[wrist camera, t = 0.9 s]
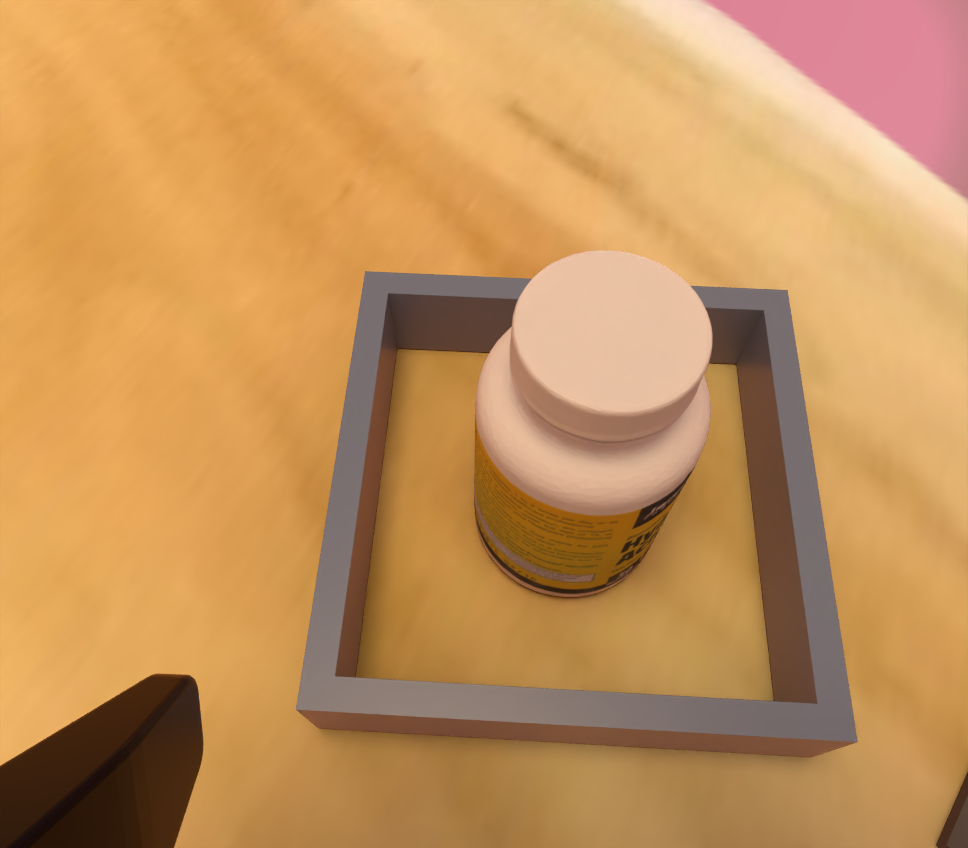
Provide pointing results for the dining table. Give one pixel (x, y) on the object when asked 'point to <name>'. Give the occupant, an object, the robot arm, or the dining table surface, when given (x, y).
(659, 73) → the dining table surface
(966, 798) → the mat
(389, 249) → the dining table surface
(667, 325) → the supplement bottle
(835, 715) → the grey square frame
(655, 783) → the dining table surface
